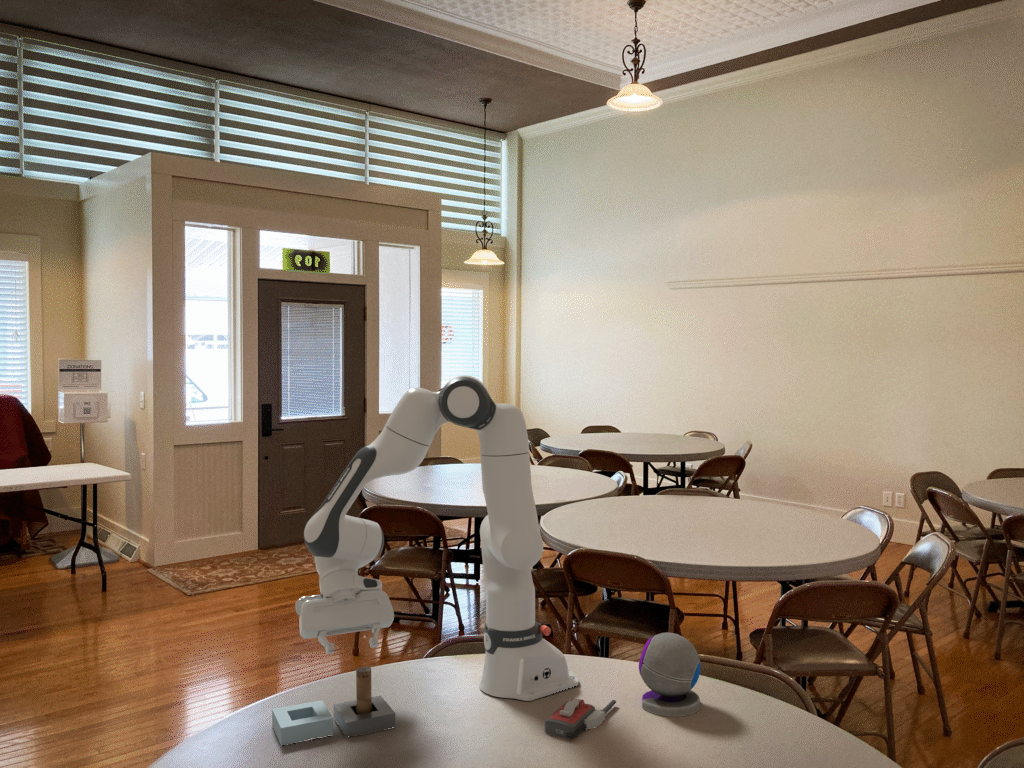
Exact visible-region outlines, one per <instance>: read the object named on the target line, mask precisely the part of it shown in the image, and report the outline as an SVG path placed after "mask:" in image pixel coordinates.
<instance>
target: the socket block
mask: <svg viewBox="0 0 1024 768" xmlns="http://www.w3.org/2000/svg"><path fill="white" fill-rule="evenodd" d="M334 718H335V720H336V721H337V723H338V724H339V726H340V728H341V729H342V731H343V732H344V734H345V735H344V734H343V735H344V737H345V736H346V737H348V736H353V737H356V736H355V735H358V736H362V735H361V734H363V735H368V734H372V733H371V732H373V733H376V732H375V731H378V732H381V731H380V730H383V731H385V730H384V729H388V728H392V727H397V726H396V712H395V711H394V709H393V708H392V707H391V706H390V705H389V703H388V702H387V701H386V700H385V699H384V697H383V696H382V695H377V696H372V712H369V713H363V714H358V715H357V699H354V700H350V701H343V702H339V703H334V704H333V719H334ZM335 720H334V721H335ZM336 721H335V722H336ZM337 723H336V724H337ZM338 724H337V725H338ZM339 726H338V727H339ZM340 728H339V729H340ZM341 729H340V730H341ZM388 730H389V729H388ZM342 731H341V732H342ZM343 732H342V733H343ZM367 733H368V734H367ZM346 737H345V738H346Z"/></svg>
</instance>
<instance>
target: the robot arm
mask: <svg viewBox="0 0 1024 768" xmlns="http://www.w3.org/2000/svg"><path fill="white" fill-rule="evenodd" d="M447 423H451V424H453V425H456V426H459V427H462V428H463V427H464V428H467V429H468V428H469V429H471V430H476V432H477V434H478V439H479V453H480V466H481V467H480V469H481V484H482V486H481V487H482V492H483V496H484V501H485V505H486V511H487V514H486V515H485V517H484V518H483V520H482V521H481V524H480V526H479V527H480V528H479V535H480V536H479V537H480V547H481V557H482V567H483V577H484V584H485V585H484V586H485V607H486V608H485V614H486V616H485V617H486V618H485V621H486V622H485V623H484V628H483V629H484V633H483V634H484V635H483V643H484V650H485V655H484V664H483V671H482V675H481V679H480V683H479V689H480V690H481V691H482V692H483V693H485V694H487V695H488V696H492V697H498V698H502V699H503V698H504V699H515V700H518V701H519V700H520V701H524V702H525V701H526V702H531V701H535V700H537V699H540V698H544V697H546V696H550V695H554V694H556V692H557V693H560V692H563V691H566V690H569V689H568V688H570V689H572V687H573V688H575V687H574V686H576V687H577V685H578V686H579V684H578V683H579V677H578V676H577V675H576V674H575V673H574V672H573V671H571V670H570V669H569V668H568V665H569V664H568V661H567V658H566V656H565V655H564V654H563V652H562V651H561V650H560V649H558V648H557V647H556V646H554V645H553V644H551V643H550V642H549V641H547V640H546V639H545V638H543V635H544V636H545V637H548V636H550V634H552V628H550V627H549V626H547V625H546V624H543V625H542V624H541V623H539V622H537V621H536V589H535V585H534V582H533V576H532V575H533V574H532V570H531V568H532V567H534V566H535V565H536V564H537V563H538V562H539V561H540V559H541V558H542V555H543V551H544V542H543V537H542V535H541V530H540V525H539V519H538V518H539V517H538V511H537V507H536V501H535V497H534V493H533V485H532V475H531V474H532V473H531V457H530V455H531V454H530V442H529V436H528V435H529V434H528V429H527V425H526V421H525V416H524V413H523V411H522V410H521V409H520V408H519V407H518V406H516V405H514V404H510V403H506V402H505V403H498V402H495V401H494V400H493V399H492V397H491V395H490V394H489V391H488V388H487V387H486V385H485V384H484V383H483V382H482V381H481V380H480V379H478V378H477V377H474V376H471V375H457V376H456V377H453V378H452V379H450V380H448V382H447V383H446V384H444V386H443V387H441V388H440V389H439V390H438V391H432V390H430V389H427V388H423V387H412V388H409V389H407V390H406V392H404V394H403V395H402V397H400V399H399V400H398V402H397V404H396V405H395V407H394V408H393V410H392V411H391V413H390V415H389V417H388V418H387V421H386V422H385V425H384V426H383V428H382V430H381V431H380V433H379V435H378V436H377V437H376V438H375V439H374V440H373V441H372V442H371V443H370V444H368V445H366V446H363V447H362V448H360V449H359V450H358V451H357V452H356V453H355V455H353V457H352V459H351V460H350V461H349V463H348V464H347V466H346V467H345V468H344V470H343V472H342V473H341V474H340V476H339V478H338V480H337V481H336V482H335V484H334V485H333V486H332V488H331V490H330V491H329V493H328V494H327V496H326V497H325V499H324V500H323V502H322V503H321V505H319V507H318V508H317V509H316V510H315V511H314V512H313V514H311V516H310V517H309V518H308V520H307V521H306V523H305V525H304V527H303V533H302V538H303V541H304V544H305V546H306V548H307V550H308V551H309V552H310V553H311V555H312V556H313V559H314V565H315V569H316V572H317V573H318V578H319V579H318V585H319V591H320V594H315V595H310V596H306V595H305V596H301V597H300V598H299V599H297V600H296V602H295V604H294V607H295V613H296V615H298V618H299V619H298V621H299V623H298V625H299V636H300V637H301V638H302V639H304V640H308V639H315V638H317V639H318V642H319V643H320V644H321V646H322V647H323V648H325V654H326V655H332V654H335V652H336V651H335V644H334V642H330V641H329V640H328V639H327V637H329V636H337V635H344V634H350V633H357V632H364V631H370V630H371V633H372V634H374V636H370V638H369V641H368V642H369V647H370V648H372V649H373V648H378V647H379V643H380V642H379V639H378V637H379V634H380V631H381V629H386V628H387V629H388V628H389V627H391V625H392V624H393V621H394V620H395V619H394V618H395V611H394V609H393V606H392V603H391V600H390V598H389V596H388V594H387V593H386V592H385V591H384V590H382V589H383V582H382V580H380V579H377V578H372V577H365V576H362V575H359V573H358V571H359V569H362V568H364V567H366V566H368V565H369V564H370V563H372V562H374V561H375V560H376V559H377V558H378V557H379V556H380V555H381V554H382V551H383V549H384V545H385V536H384V532H383V530H382V527H381V525H380V524H379V523H378V522H376V521H374V520H369V519H365V518H361V517H356V516H351V515H348V514H347V513H348V511H349V510H350V509H351V507H352V505H353V504H354V502H355V501H356V500H357V498H358V497H359V495H360V494H361V491H362V490H363V489H364V487H365V486H366V485H368V484H369V483H370V482H372V481H374V480H376V479H380V478H385V477H390V476H399V475H404V474H407V473H410V472H412V471H414V470H416V469H417V468H418V467H419V466H420V465H421V463H422V462H423V461H424V459H425V457H426V456H427V454H428V451H429V449H430V447H431V445H432V443H433V441H434V438H435V436H436V435H437V433H438V430H439V429H440V428H441V427H442V426H444V424H447ZM565 689H566V690H565ZM562 690H563V691H562ZM559 691H560V692H559ZM553 693H554V694H553Z"/></svg>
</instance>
